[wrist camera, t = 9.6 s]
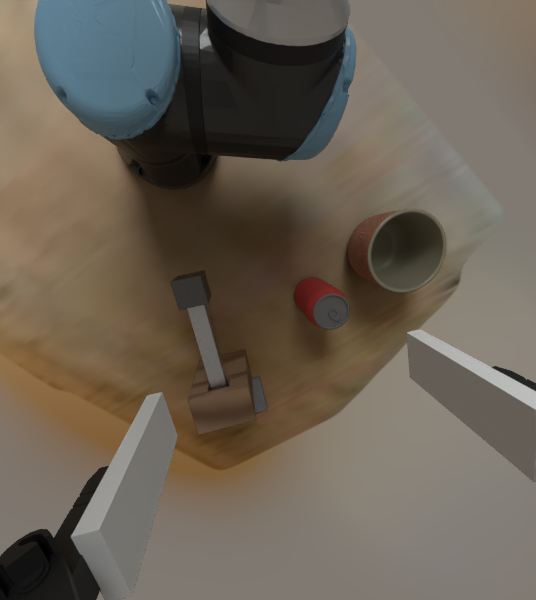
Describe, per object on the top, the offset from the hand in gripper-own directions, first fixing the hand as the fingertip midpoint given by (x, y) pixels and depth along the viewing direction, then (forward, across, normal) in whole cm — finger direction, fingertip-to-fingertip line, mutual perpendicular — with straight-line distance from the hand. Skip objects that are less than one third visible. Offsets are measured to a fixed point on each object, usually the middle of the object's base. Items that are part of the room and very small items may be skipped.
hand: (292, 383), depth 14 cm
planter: (+37, +23, 0) cm, 44 cm away
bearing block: (+37, -9, -17) cm, 41 cm away
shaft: (+29, -9, -8) cm, 32 cm away
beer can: (+37, +10, -6) cm, 39 cm away
